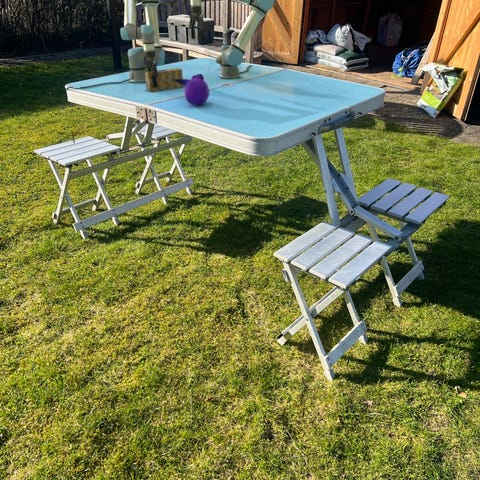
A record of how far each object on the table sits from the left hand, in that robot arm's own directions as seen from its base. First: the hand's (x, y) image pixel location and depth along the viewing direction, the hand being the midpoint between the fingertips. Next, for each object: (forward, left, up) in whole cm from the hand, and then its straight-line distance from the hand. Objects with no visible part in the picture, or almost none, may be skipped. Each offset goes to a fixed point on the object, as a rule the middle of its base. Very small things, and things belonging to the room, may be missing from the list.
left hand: (153, 86), depth 309 cm
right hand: (+36, +13, +26) cm, 47 cm away
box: (+8, +2, -3) cm, 9 cm away
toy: (+18, -47, -3) cm, 50 cm away
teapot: (+70, +60, -3) cm, 92 cm away
